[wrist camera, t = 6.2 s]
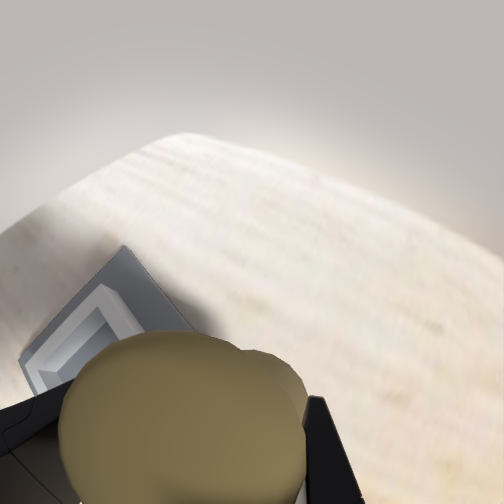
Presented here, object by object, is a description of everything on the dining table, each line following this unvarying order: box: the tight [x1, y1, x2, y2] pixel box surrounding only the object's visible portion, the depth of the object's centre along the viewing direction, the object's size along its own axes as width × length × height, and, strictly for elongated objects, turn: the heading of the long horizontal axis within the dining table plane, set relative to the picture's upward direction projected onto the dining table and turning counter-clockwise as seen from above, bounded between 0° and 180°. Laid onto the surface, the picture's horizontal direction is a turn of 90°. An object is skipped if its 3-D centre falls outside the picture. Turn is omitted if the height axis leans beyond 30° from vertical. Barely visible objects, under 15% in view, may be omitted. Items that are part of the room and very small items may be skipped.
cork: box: [58, 330, 308, 504], centre depth 9 cm, size 6×6×11 cm
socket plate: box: [18, 246, 195, 397], centre depth 20 cm, size 16×16×4 cm
